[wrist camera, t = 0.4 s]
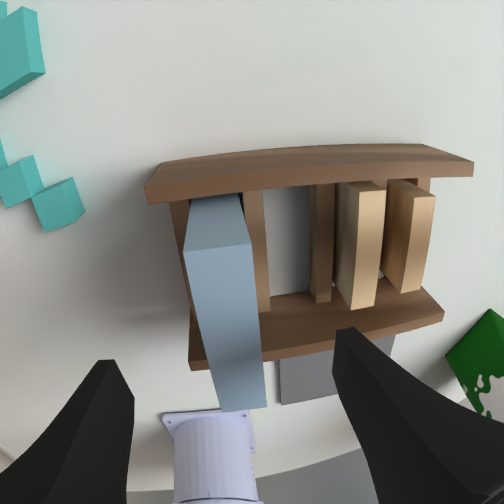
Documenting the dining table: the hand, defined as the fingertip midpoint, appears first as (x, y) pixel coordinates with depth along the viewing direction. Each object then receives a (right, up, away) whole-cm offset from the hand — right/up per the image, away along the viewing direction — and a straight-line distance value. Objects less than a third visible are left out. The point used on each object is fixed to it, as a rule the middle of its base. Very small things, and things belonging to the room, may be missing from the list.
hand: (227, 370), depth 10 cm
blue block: (-1, +4, +9) cm, 10 cm away
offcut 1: (+6, +5, +10) cm, 13 cm away
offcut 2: (+10, +6, +10) cm, 15 cm away
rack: (+4, +5, +10) cm, 12 cm away
